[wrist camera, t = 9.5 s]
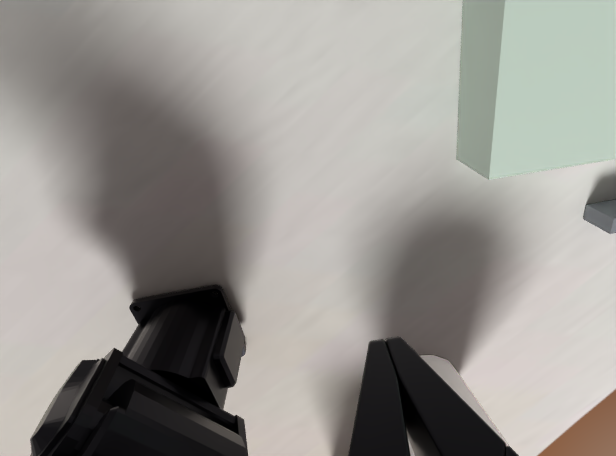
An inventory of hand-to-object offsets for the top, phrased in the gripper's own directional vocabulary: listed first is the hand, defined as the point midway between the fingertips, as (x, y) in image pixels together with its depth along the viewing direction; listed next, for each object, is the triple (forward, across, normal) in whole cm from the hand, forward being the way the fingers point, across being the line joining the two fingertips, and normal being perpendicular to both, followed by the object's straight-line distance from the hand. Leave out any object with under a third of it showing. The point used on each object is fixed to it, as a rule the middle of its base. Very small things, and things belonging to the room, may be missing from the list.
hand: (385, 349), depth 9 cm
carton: (+12, -12, -5) cm, 18 cm away
